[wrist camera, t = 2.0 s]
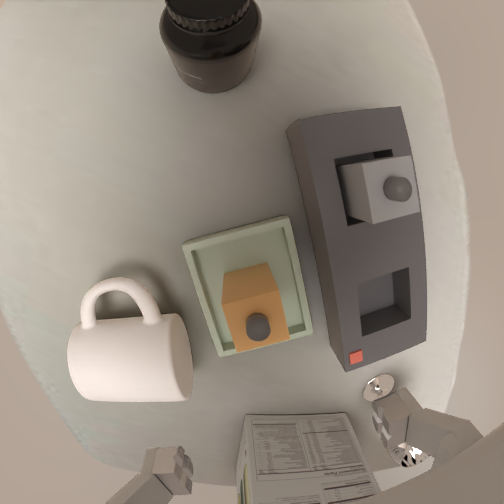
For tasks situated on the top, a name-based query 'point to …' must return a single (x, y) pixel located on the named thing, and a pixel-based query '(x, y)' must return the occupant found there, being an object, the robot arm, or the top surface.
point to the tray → (241, 256)
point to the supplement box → (302, 461)
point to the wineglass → (399, 453)
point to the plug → (253, 308)
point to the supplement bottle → (211, 40)
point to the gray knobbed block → (378, 188)
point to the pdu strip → (361, 238)
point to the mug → (130, 351)
